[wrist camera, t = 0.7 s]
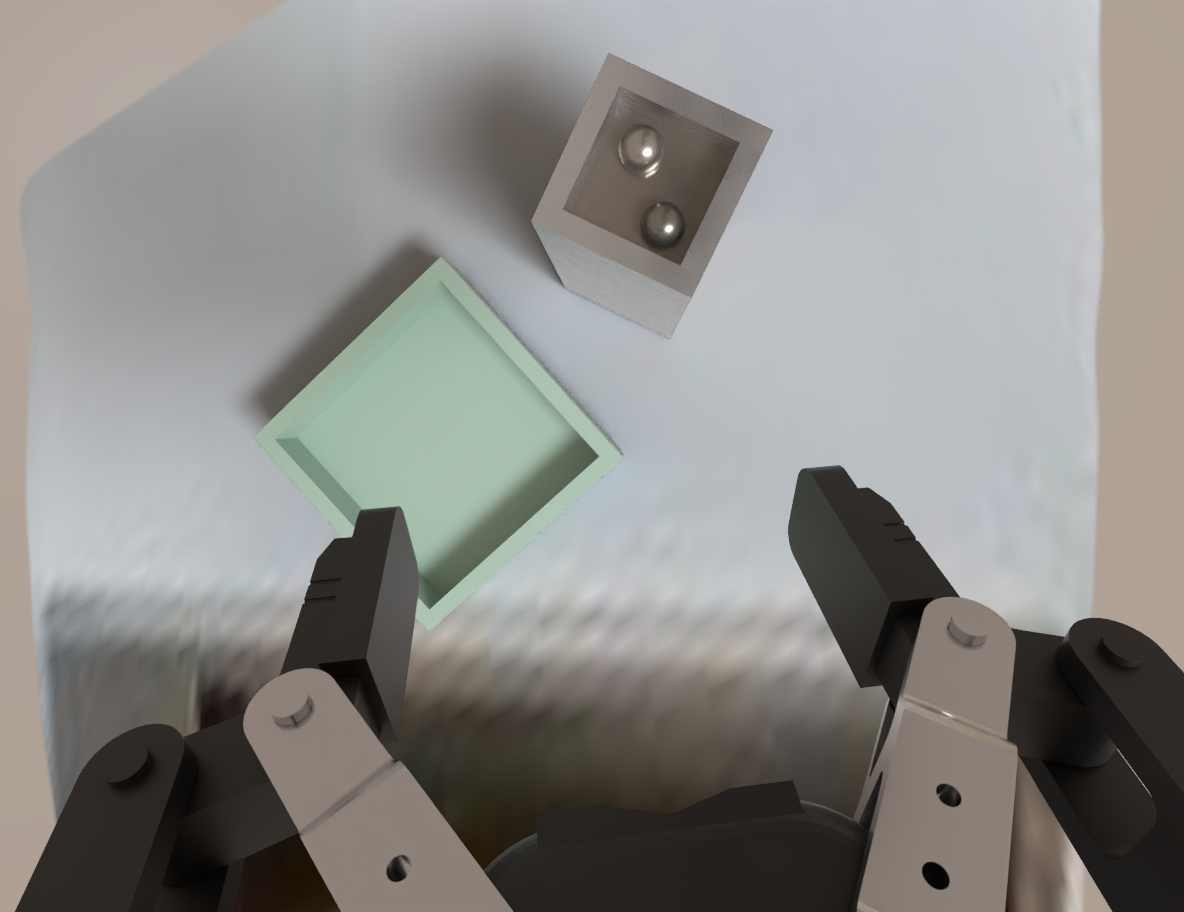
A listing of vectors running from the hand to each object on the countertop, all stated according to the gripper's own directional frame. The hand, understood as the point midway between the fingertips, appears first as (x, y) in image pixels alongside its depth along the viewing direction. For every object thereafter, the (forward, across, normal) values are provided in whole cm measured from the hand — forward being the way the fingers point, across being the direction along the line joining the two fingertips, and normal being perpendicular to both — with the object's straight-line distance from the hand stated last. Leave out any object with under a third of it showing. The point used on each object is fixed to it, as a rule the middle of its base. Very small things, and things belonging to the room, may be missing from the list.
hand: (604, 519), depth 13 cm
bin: (+19, +6, +11) cm, 23 cm away
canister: (+23, -5, +3) cm, 23 cm away
